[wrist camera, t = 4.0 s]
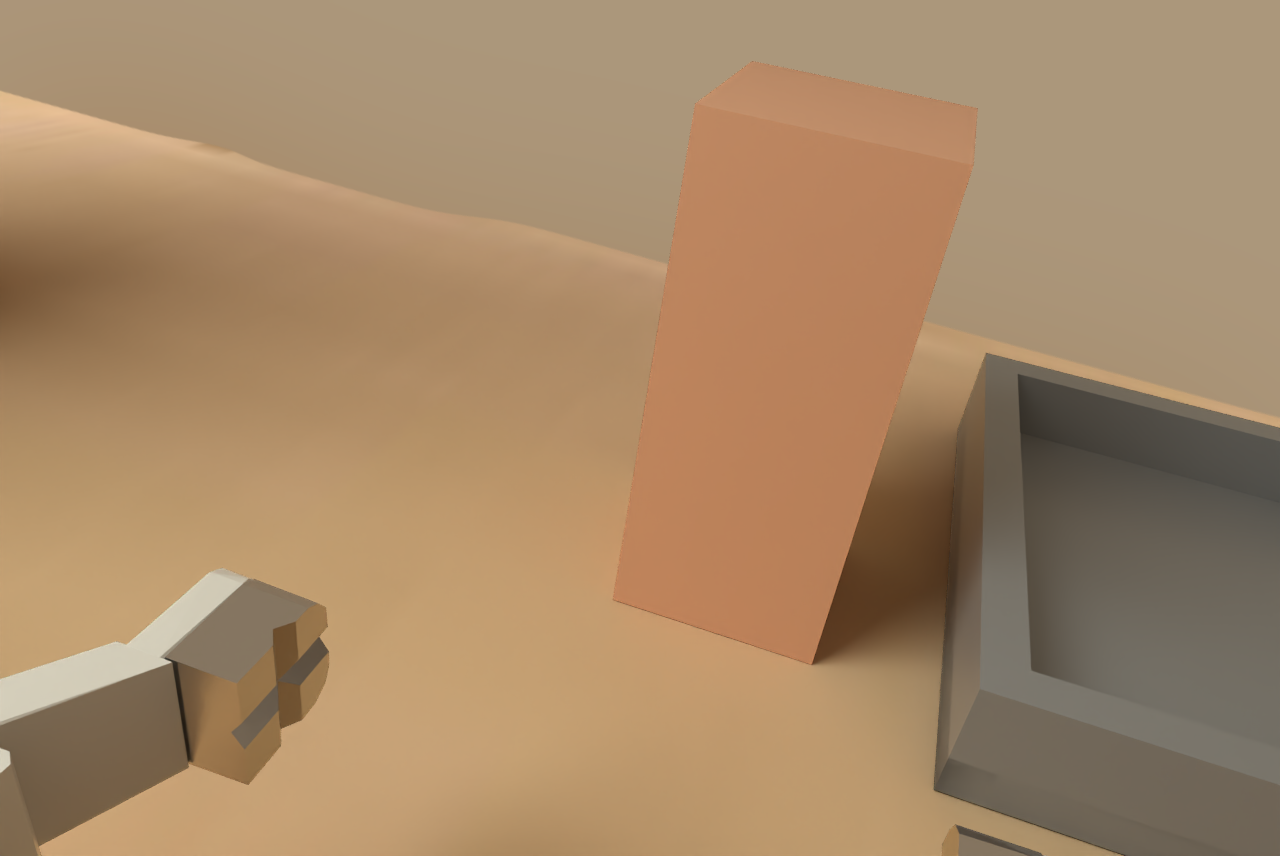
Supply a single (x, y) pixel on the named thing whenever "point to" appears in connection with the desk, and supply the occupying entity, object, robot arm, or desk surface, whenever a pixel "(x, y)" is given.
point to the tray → (1113, 617)
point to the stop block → (784, 344)
